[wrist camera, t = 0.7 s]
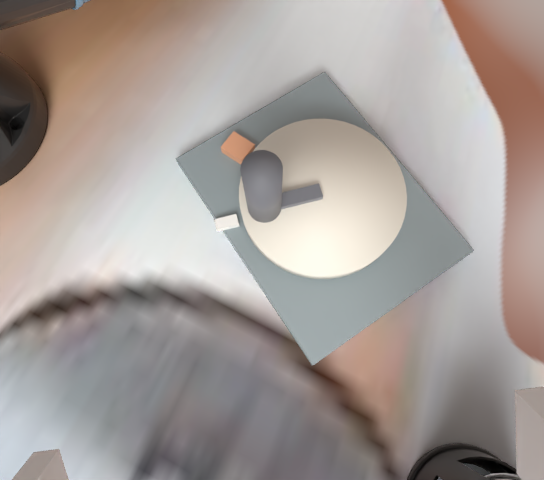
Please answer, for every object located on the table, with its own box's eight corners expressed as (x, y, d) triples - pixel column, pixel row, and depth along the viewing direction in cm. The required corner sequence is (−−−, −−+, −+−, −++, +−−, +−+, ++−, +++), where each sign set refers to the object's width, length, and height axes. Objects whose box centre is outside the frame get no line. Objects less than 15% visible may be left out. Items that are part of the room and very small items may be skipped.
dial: (211, 181, 36) (190, 126, 27) (337, 105, 38) (355, 31, 29) (300, 312, 33) (308, 297, 24) (432, 221, 35) (484, 177, 26)
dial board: (174, 167, 38) (168, 156, 36) (323, 79, 41) (325, 64, 39) (306, 368, 33) (308, 369, 31) (467, 254, 36) (479, 247, 34)
